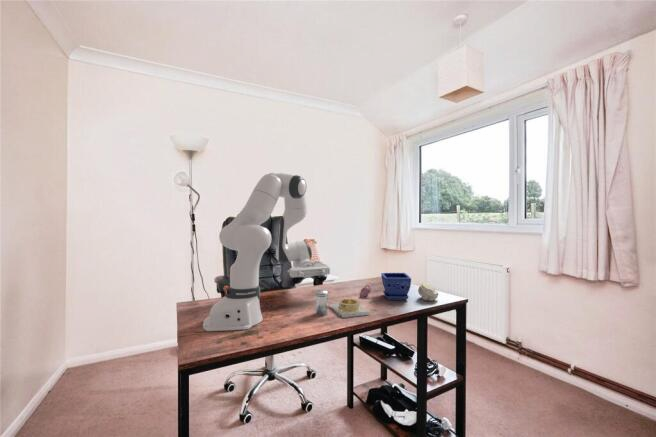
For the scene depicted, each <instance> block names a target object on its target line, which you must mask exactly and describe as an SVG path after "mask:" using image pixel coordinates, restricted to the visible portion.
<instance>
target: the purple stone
mask: <svg viewBox="0 0 656 437" xmlns="http://www.w3.org/2000/svg"><path fill="white" fill-rule="evenodd" d="M371 289H372V284H370V283H369V284H368V283H366V285H365V286H364V287H362V288H361V290H360V293H359V297H360V298H364V297H367V296H368V295H369V294H371V293H372V290H371Z"/></svg>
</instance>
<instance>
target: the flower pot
mask: <svg viewBox="0 0 656 437" xmlns="http://www.w3.org/2000/svg"><path fill="white" fill-rule="evenodd" d="M381 280H382V281H381V283H382V286H383V288H384V290H382V292H383V294H384V296H385V298H386V300H388V301H407V300H408V299H409V297H410V296H409V291H410V290H411V289H410V288H411V284H412V278H411V276H410V275H408V274H407V273H406V272H382V273H381Z"/></svg>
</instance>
